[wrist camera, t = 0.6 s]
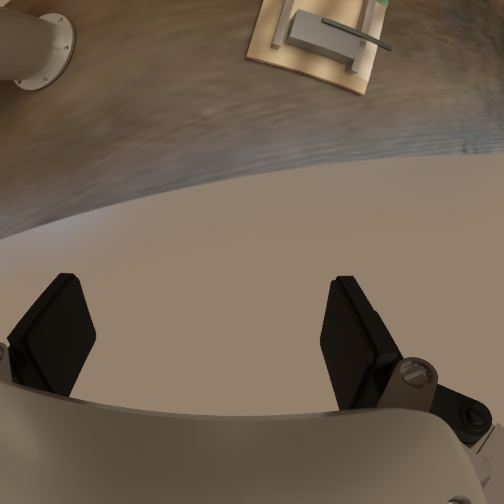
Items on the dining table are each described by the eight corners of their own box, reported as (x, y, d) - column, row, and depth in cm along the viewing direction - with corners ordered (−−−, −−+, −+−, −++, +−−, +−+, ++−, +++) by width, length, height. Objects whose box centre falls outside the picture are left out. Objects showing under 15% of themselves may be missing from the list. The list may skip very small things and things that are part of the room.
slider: (284, 43, 30) (290, 35, 26) (291, 18, 28) (299, 7, 24) (370, 74, 32) (386, 72, 28) (376, 50, 30) (392, 45, 26)
